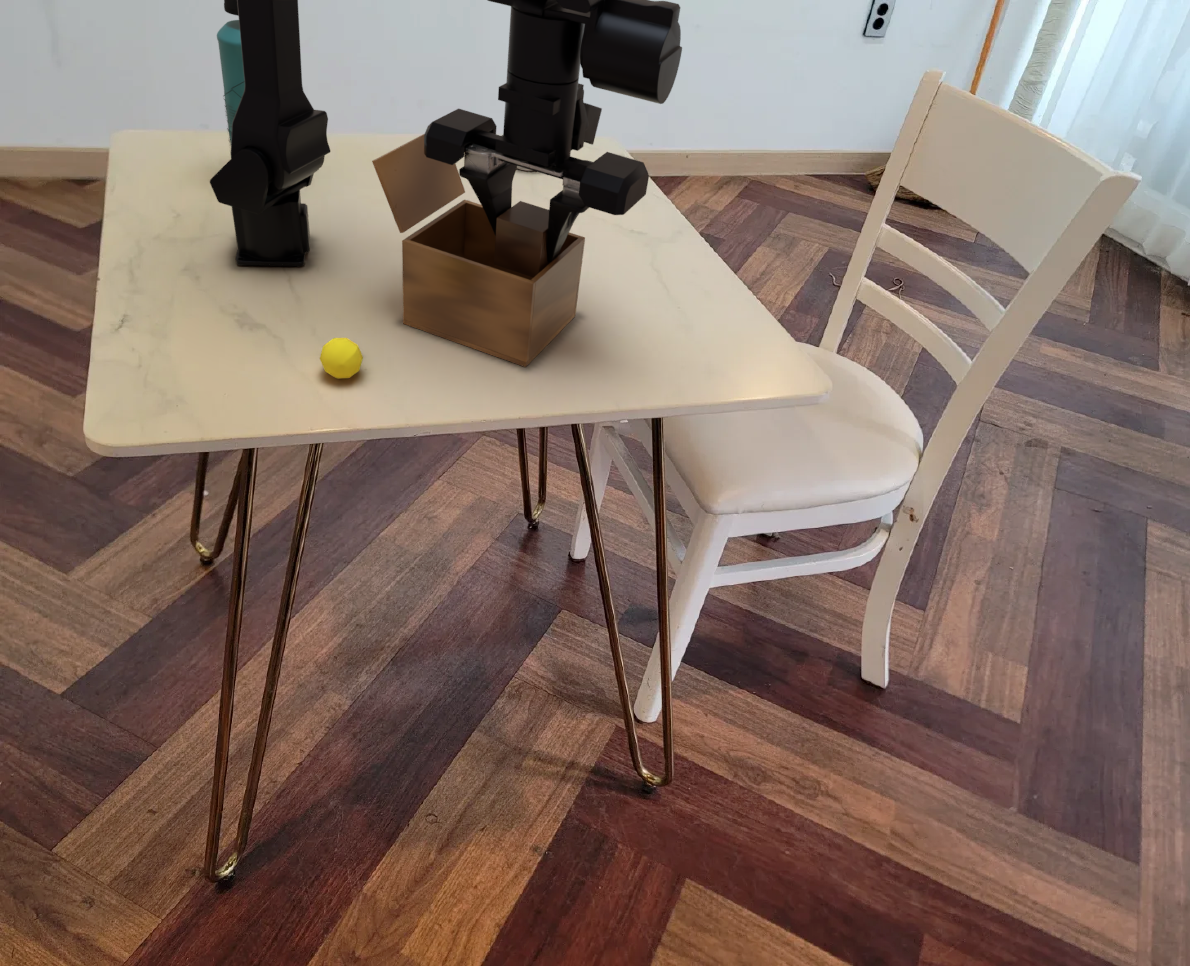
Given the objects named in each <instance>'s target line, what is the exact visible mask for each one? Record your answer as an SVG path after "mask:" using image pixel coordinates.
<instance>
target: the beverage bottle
mask: <svg viewBox="0 0 1190 966" xmlns="http://www.w3.org/2000/svg"><path fill="white" fill-rule="evenodd" d="M223 9H224V12H225V13H227V14H230V15H233V16H237V17H239V16H238V5H237V0H223ZM216 40H217V43H218V50H219V60H220V68H221V75H222V84H223V95H222V98H223V100H224V109H225V118H226V123H227V127H226V132H227V133H228V144H229V147H231V135H232V122H233V119H234V117H235V114H236V111H237V109H238V106H239V103H240V101H241V98H242V96H243V93H244V88H245V81H244V70H243V59H242V48H241V38H240V27H239V19H234V20H229V21H227V22H226V23H225V24H223V25H222V26H221V28H220V29H219V30H218V31H217V33H216ZM230 156H231V153H230Z"/></svg>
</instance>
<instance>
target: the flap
mask: <svg viewBox="0 0 1190 966" xmlns="http://www.w3.org/2000/svg"><path fill="white" fill-rule="evenodd" d="M424 134H425V133H423V134H421V135H419V136H417V137H416V138H413V139H411V140H409V141H408V142H406V143H404V144H402V145H400V146H398V147H396V148H394V149H392V150H390V151H388V152H386V153H384V154H383V155H380V156H379V157H377V158H375V159H373V160H372V161H371V163H372V165H373V167H374V170H375V172H376V175H377V178H378V180H379V182H380V186H381V188H382V191H383V193H384V196H385V198H386V201H387V203H388V206H389V209H390V211H391V213H392V216H393V219H394V221H395V224H396V226H397V229H398V231H399V234H404V233H405V232H407V231H408V230H410V229H411V228H413V227H414V226H416V225H418V224H420V223H421V222H422V221H423V220H425V219H427V218H428V217H430V216H431V215H433V214H434V213H436V212H438V211H439V210H441V209H442V208H444V207H446V206H447V205H449V204H450V203H451V202H453V201H455V200H456V199H457V198H459V197H460V196H462V195H463V194H465V193H466V190H465V187H464V184H463V181H462V177H461V176H460V174H459V169H458V167H457V163H455V164H454V165H450V164H447V163H444V162H440V161H437V160H434V159H431V158H427V157H426V156H425V154H424Z"/></svg>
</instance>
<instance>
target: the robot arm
mask: <svg viewBox="0 0 1190 966" xmlns="http://www.w3.org/2000/svg"><path fill="white" fill-rule="evenodd" d="M487 1H488V2H490V3H496V4H500V5H503V6H508V7H510V16H509V17H510V18H509V32H508V48H507V49H508V51H507V52H508V53H507V70H506V82H505V83H504V84H502V85H499V86H498V93H497V101H500V102H504V114H503V115H504V116H503V130H502V131H503V132H502V134H500V135H499V134H497V124H496V122H495V121H494V119H493V118H492V117H490V116H489V117H488V116H486V115H482V114H480V113H475V112H471V111H468V110H466V109H462V108H456V109H454V110H453V111H451V112H449V113H447V114H445V115H443V116H441V117H438V118H436V119H435V120H433V121H432V122H430V123H429V124H428V125H427V126H426V129H425V132H424V133H423V134H424V154H425V156H426V157H427V158H431V159H434V160H437V161H440V162H444V163H447V164H450V165H454V164H457V163H458V162H460V161H461V160H462V159H463V166H461V167H460V168H459V169H458V172H459V175H460V178H463V179H466V180H467V182H468V184H469V185H470V187H471V189H472V190H473V192H474V194H475V196H476V198H477V199H478V201H479V204H480V205H482V207H483V209H484V211H485V213H486V216H487V218H488V220H489V223H490V225H491V227H492V229H493V232H494V234H495V236H496V223H497V217H499V216H500V215H502V214H503V213H504V212H506V211H507V210H508V209H510V208H511V207H512V203H513V202H512V201H513V182H514V178H515V174H516V171H517V169H518V168H517V166H520V167H523V168H526V169H530V170H533V171H532V172H537V173H540V174H543V175H546V176H550V177H552V178H557V179H560V180H562V190H561V191H559V192H558V193H556V194H555V195H554V196H553V197H552V198H550V199H549V209H548V210H549V221H548V234H547V247H546V250H547V261H548V262H550V263H551V262H552V261H553V260H554V259H555V258H556V257H557V256H558V254H559V251H560V249H561V247H562V245H563V243H564V241H565V239H566V237H567V235H568V233H569V232H570V231H571V229H572V227H573V225H574V223H575V221H576V219H577V218H578V216H579V215H580V214H583V213H585V212H586V211H588V210H589V209H593V210H596V211H599V212H603V213H606V214H609V215H612V216H624V215H625V214H626V213H628V212H629V211H630V210H631V209H632V208H633V207H634V206H635V205H637V203H638V202H640V201H641V200H642V199H643V198H644V197H645V196H646V194H647V190H648V183H649V179H650V175H649V171H648V169H647V167H646V165H645V162H644V161H640V160H637V159H634V158H630V157H626V156H623V155H620V154H616V153H613V152H608V151H606V152H605V153H603V154H602V155H601V156H599V157H598V158H597V159H595V160H594V161H591V160H588V159H581V158H577V157H573V156H571V153H572V151H573V150H574V151H577V152H578V151H580V150H581V149H582V148H584V145H585V143H586V144H588V145H592V146H593V145H594V143H595V138H596V135H597V130H598V127H599V122H600V118H601V114H602V110H603V108H602V107H599V106H596V105H593V104H591V103H587V102H584V97H585V89H584V87H585V84H583V83H579V81H580V80H579V79H580V71H581V70H582V78H584V79H587V80H589V83H590V86H592V87H593V88H596V89H600V90H603V91H608V92H612V93H615V94H620V95H624V96H628V97H631V98H636V99H639V100H643V101H647V102H650V103H655V104H660V105H661V104H662V105H663V104H665V102H666V101H667V100H668V98H669V96H670V93H671V92H672V89H673V87H674V85H675V81H676V78H677V74H678V71H679V67H680V63H681V58H682V51H683V47H682V46H681V37H682V36H681V35H682V34H681V25H680V22H679V19H680V13H681V6H680V4H679V3H676V2H673V1H667V0H487ZM237 5H238V16H237V17H238V20H239V27H240V38H241V48H242V59H243V70H244V81H245V88H244V93H243V96H242V98H241V101H240V103H239V106H238V109H237V111H236V114H235V117H234V119H233V122H232V135H231V143H230V144H231V146H230V154H231V155H230V159H229V160H228V161H227V162H226V163H225V164H224V165H223V166H222V167H221V169H219V170H218V171H217V172H216V173H215V174H214V175H213V176H212V177H211V178H210V179H209V184H210V186H211V189H212V191H213V193H214V197H215V198H216V201H217V202H218V203H219V204H223V205H226V206H229V207H231V211H232V219H233V226H234V227H233V228H234V234H235V240H236V248H237V249H236V254H235V264H236V265H239V266H269V267H270V266H273V267H274V266H275V267H276V266H277V267H302V266H304V265H305V263H306V254H308V253H309V252H310V250H311V233H310V221H309V209H308V205H307V204H306V203H302V200H301V199H302V197H301V190H303V189H304V188H307V187H309V186H311V184H312V182H313V178H314V175H315V173H316V172H318V171H319V170H320V168H322V167H323V164H324V163H325V157H326V155H328V154H330V153H331V147H330V145H329V142H328V136H327V132H328V131H327V130H328V122H329V117H328V113H327V111H326V110H321V109H315V108H314V107H313V105H312V103H311V102H310V99H309V98H308V97H307V95H306V93H305V92H304V87H303V77H302V76H303V75H302V55H301V37H300V35H301V34H300V17H299V15H300V14H299V0H237ZM580 69H581V70H580Z"/></svg>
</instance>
